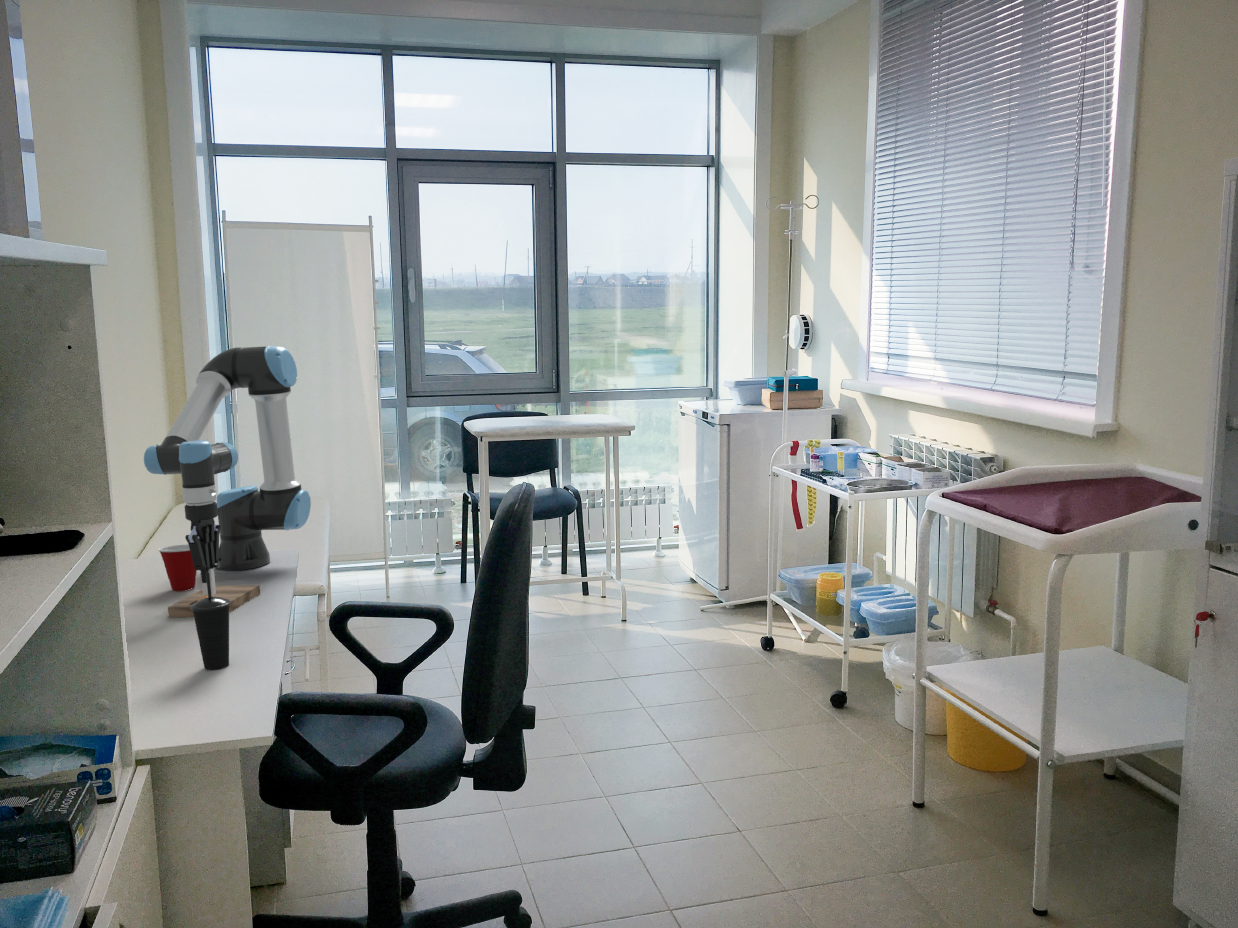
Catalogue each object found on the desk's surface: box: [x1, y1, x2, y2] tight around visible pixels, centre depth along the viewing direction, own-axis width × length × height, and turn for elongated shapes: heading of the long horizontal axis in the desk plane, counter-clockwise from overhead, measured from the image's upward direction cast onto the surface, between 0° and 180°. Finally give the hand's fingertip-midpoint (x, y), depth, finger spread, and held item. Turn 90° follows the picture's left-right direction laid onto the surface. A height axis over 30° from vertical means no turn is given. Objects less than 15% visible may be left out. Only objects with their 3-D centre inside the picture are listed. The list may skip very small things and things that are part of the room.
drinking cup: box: [191, 573, 230, 671], centre depth 205 cm, size 8×8×20 cm
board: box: [167, 584, 261, 618], centre depth 252 cm, size 20×14×2 cm
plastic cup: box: [157, 543, 198, 592], centre depth 269 cm, size 11×11×12 cm
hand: (209, 593), depth 249 cm, fingers closed
